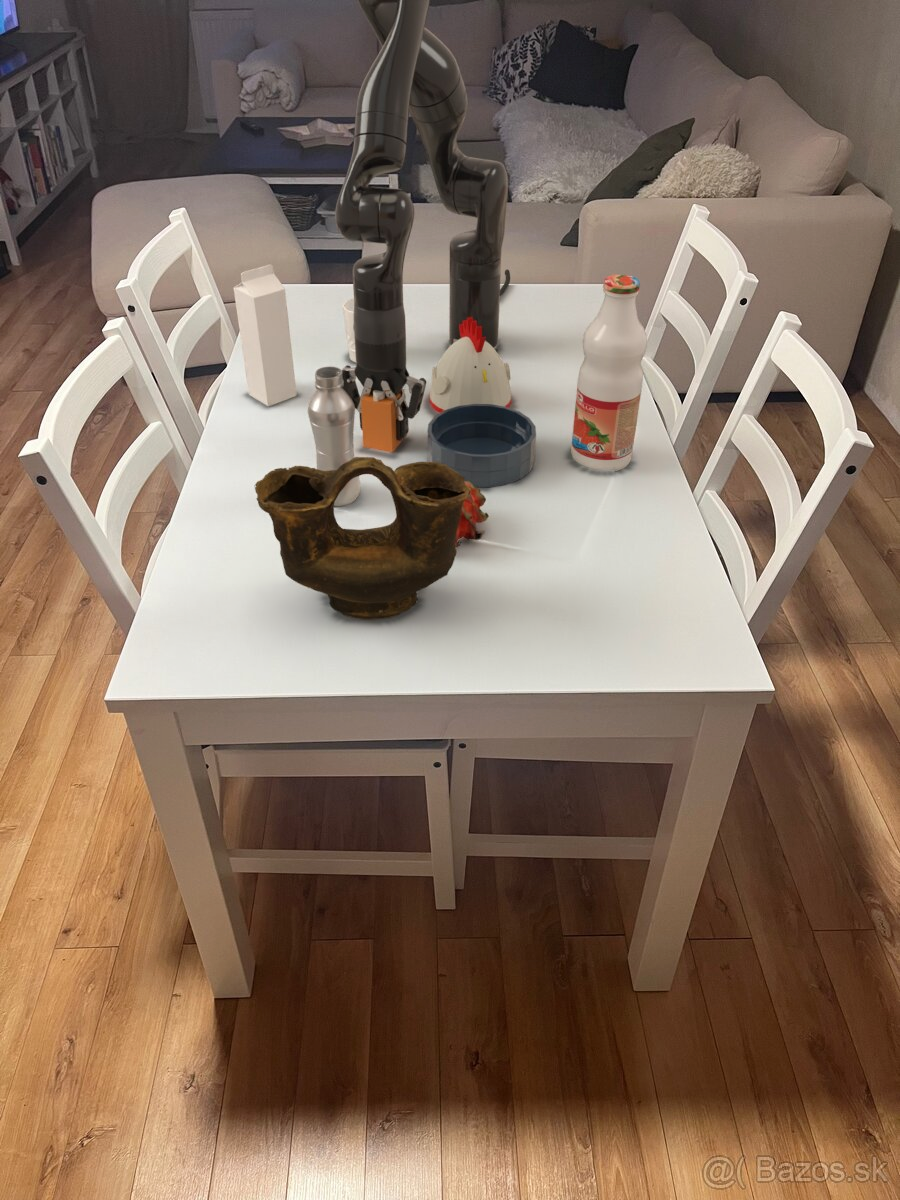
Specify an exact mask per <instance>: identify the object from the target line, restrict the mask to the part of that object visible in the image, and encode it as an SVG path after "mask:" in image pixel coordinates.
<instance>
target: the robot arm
mask: <svg viewBox="0 0 900 1200" xmlns="http://www.w3.org/2000/svg"><path fill="white" fill-rule="evenodd" d="M356 2H357V4H358V6H359V8H360V9H361V11H362V13H363V15H364V18H365V19H366V21H367V22H368V24H369V25H370V27H371V30H372V31H373V33H374V35H375V36H376V38H377V40H378V42H379V44H380V46H381V49H380V50H379V53H378V54H377V56H376V57H375V59H374V61H373V62H372V65H370V66H371V67H370V68H369V70H368V72H367V73H366V75H365V77H364V79H363V81H362V84H361V85H360V89H359V92H358V96H357V100H356V106H355V119H354V134H353V147H352V152H351V157H350V161H349V165H348V168H347V171H346V173H345V174H346V175H345V177H344V181H343V183H342V185H341V188H340V191H339V194H338V198H337V200H336V204H335V209H334V221H335V226H336V228H337V231H338V233H339V234H340V236H341V237H342V238H343V239H344V240H346V241H349V242H353V243H366V244H367V243H368V244H384V245H386V251H385V252H382V253H379V254H373V255H368V256H364V257H362V258H359V259H358V260H356V261H355V263H354V264H353V267H352V287H353V290H352V291H353V298H354V324H353V329H354V336H355V353H356V362H357V363H356V366H355V367H354V366H353V367H352V366H350V365H349V364H347V365H345V366H344V367H343V368H342V369H341V370H342V377H343V381H344V385H343V387H342V388H343V389H344V390H345V391H346V392H347V393H348V395H349V396H350V397H351V399H352V401H353V403H354V406H355V410H356V411H357V413H358V414H359V425H360V426H359V428H360V430H361V431H362V415H361V398H362V397H363V396H367V397H369V396H370V395H373V391H374V390H378V391H384V392H385V398H387V399H388V400H389V401H391V400H392V401H393V402H394V407H395V415H396V418H397V419H396V439H397V440H398V441H402V442H403V440H404V439H405V438H406V437H407V435H408V434H409V419H410V420H412V419H414V418H415V417H416V416H417V414H418V413H419V412H420V411H421V407H422V402H423V398H424V395H425V390H426V387H427V380H426V378H424V377H420V378H415V377H413V376H410V373H409V371H408V369H407V333H406V332H407V331H406V312H405V307H404V277H403V276H404V274H403V273H404V263H405V257H406V252H407V248H408V244H409V239H410V236H411V233H412V230H413V225H414V220H415V206H414V203H413V200H412V198H411V197H410V195H409V194H408V192H406V190H404V189H401V188H396V187H380V186H369V185H370V184H371V182H372V180H373V179H375V178H376V177H377V176H380V175H384V174H388V173H389V174H390V173H393V172H397V171H399V170H400V169H402V168H403V166H404V165H405V162H406V154H407V143H408V141H407V140H408V131H409V130H408V128H409V114H410V117H411V119H412V121H413V123H414V125H415V127H416V130H417V132H418V135H419V137H420V139H421V142H422V145H423V148H424V150H425V152H426V153H425V154H426V155H427V159H428V161H429V165H430V169H431V172H432V176H433V179H434V182H435V183H434V184H435V186H436V189H437V193H438V195H439V198H440V200H441V203H442V205H443V206H444V208H445V209H446V210H447V211H449V212H451V213H452V214H455V215H458V216H464V217H470V218H475V219H476V228H475V229H473V230H469V231H465V232H460V233H459V234H456V235H454V236H453V237H452V238H451V240H450V242H449V307H448V308H449V310H448V311H449V313H448V314H449V317H448V319H449V321H448V322H449V323H448V324H449V326H448V327H449V329H448V332H449V333H448V335H449V336H448V348H449V347H450V346H451V345H452V344H453V343H454V342H456V341H457V340H459V339H461V336H460V329H459V324H463V321H465V320H467V318H469V317H473V321H477V327H478V326H482V337H486V338H485V341H486V342H488V343H489V344H490V345H491V346H492V347H493V348H494V349H495V351H496V352H497V351H498V350H499V342H500V341H499V326H500V300H501V297H502V296H503V294H505V292H506V291H507V289H508V287H509V285H510V282H511V272H510V269H505V270H504V276H505V280H504V283H503V285H502V287H501V276H502V275H501V272H502V271H501V270H502V269H501V268H502V249H503V243H504V238H505V231H506V230H505V228H506V215H507V205H508V195H509V176H508V172H507V169H506V168H507V167H506V166H505V165H504V163H502V162H501V161H498V160H492V159H486V158H478V157H472V156H467V155H465V154H464V153H463V152H462V151H461V149H460V146H459V143H458V139H457V138H458V135H459V132H460V131H461V129H462V126H463V125H464V121H465V119H466V115H467V112H468V107H469V96H468V91H467V87H466V84H465V82H464V77H463V76H462V73H461V70H460V67H459V64H458V61H457V59H456V57H455V55H454V54H453V53H452V51H451V50H450V48H448V47H447V46H446V45H445V43H443V42H442V41H441V40H440V39H439V38H438V37H437V36H436V34H434V33H432V32H431V31H430V30H429V29H428V28H426V23H427V19H428V18H427V17H428V12H429V9H430V3H431V0H356ZM356 380H358V382H360V384H361V386H362V391H361V394H360V393H359V389H358V385H357V381H356ZM405 385H407V387H408V393H409V394H411V395H410V399H409V404H408V403H407V395H406V393H404V390H403V389H404V387H405ZM399 392H400V393H401V395H400V397H399V398H398V399H396V395H397V394H398V393H399ZM405 436H406V437H405ZM403 438H404V439H403ZM402 439H403V440H402Z"/></svg>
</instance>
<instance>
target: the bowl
mask: <svg viewBox="0 0 900 1200" xmlns="http://www.w3.org/2000/svg"><path fill="white" fill-rule="evenodd" d="M427 425H428V426H427V462H439V463H441V464H445V465H447V466H448V467H449V468H451V469H452V470H454V471H456V472H458V473H459V474H460V475H461V476H464V477H465V481H469V482H471V483H472V484H473V486H475V487H477V488H493V487H494V488H495V487H500V486H505V485H509V484H512V483H514V482H517V481H519V480H521V479H523V478H524V477H525V476H527V475H529V473H530V472H531V470H532V469H533V467H534V465H535V456H536V455H535V454H536V442H537V426H536V425H535V423H534V422H533V421H532V419H531V418H530V417H529V416H527V415H525V414H524V413H522V412H521V411H519V410H516V409H513V408H510V407H509V408H508V407H504V406H498V405H492V404H469V405H461V406H457V407H453V408H450V409H447V410H444V411H443V412H441V413H439V412H438V414H436V415H434V416H433V417H432V419H431V420H430V421H429V422H428V424H427Z"/></svg>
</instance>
